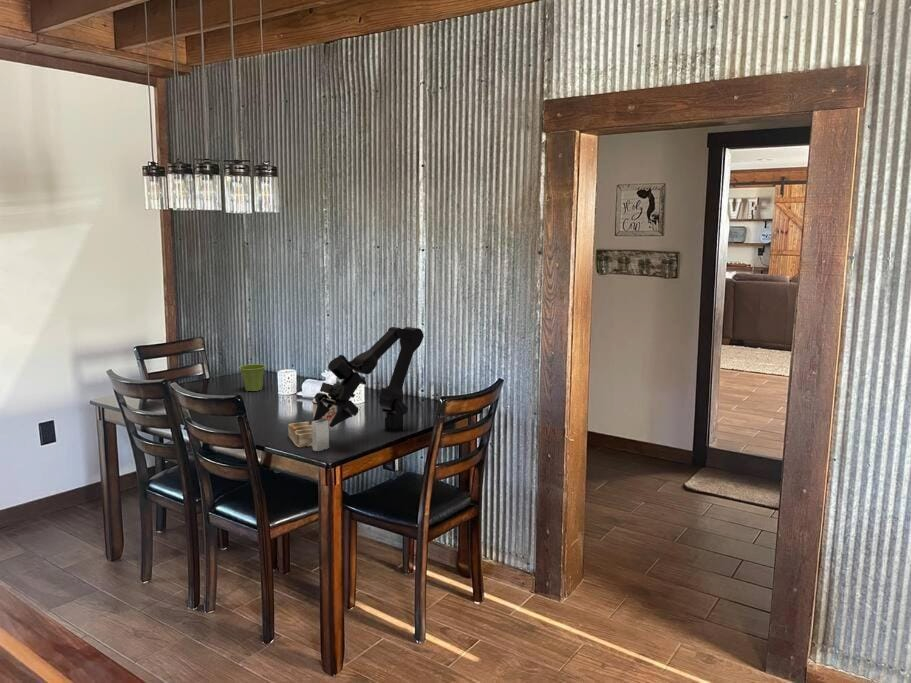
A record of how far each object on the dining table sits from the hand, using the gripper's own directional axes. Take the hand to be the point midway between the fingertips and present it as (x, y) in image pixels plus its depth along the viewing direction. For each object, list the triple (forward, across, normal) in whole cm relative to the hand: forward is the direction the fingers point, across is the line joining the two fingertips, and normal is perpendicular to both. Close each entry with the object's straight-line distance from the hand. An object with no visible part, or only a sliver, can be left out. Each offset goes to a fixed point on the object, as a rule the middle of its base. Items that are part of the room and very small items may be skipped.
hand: (322, 424), depth 245 cm
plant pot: (-15, -95, +27) cm, 100 cm away
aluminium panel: (+7, 0, +6) cm, 9 cm away
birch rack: (+6, -13, +7) cm, 15 cm away
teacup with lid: (-9, -26, +21) cm, 35 cm away
